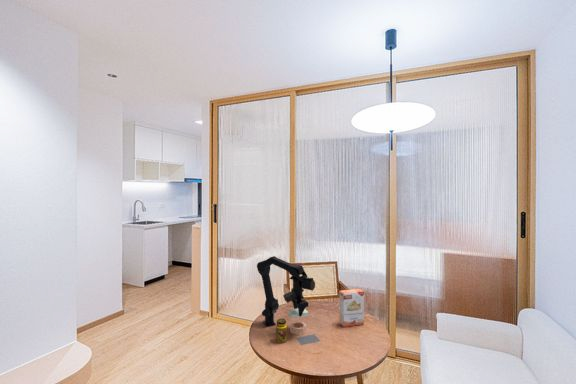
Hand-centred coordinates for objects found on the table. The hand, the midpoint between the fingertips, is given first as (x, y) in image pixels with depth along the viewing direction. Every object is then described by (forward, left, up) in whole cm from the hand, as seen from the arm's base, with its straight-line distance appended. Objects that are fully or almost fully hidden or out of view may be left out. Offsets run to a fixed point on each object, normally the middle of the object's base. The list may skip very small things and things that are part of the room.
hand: (297, 313), depth 168 cm
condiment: (+6, -13, -11) cm, 18 cm away
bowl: (0, 0, -11) cm, 11 cm away
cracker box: (+3, +35, -11) cm, 37 cm away
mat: (+11, +2, -11) cm, 16 cm away
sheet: (0, 0, -1) cm, 0 cm away
